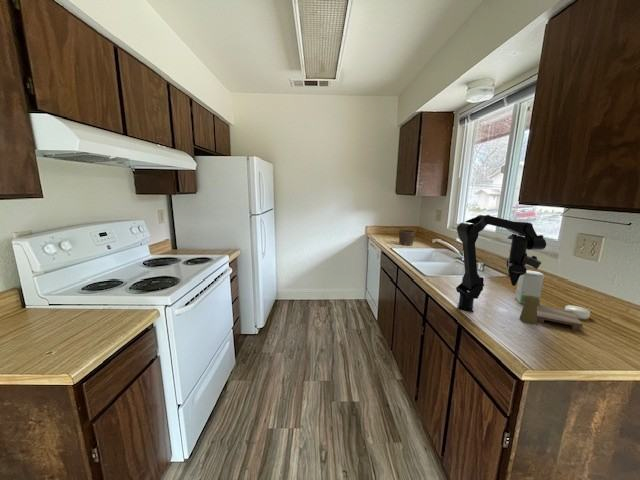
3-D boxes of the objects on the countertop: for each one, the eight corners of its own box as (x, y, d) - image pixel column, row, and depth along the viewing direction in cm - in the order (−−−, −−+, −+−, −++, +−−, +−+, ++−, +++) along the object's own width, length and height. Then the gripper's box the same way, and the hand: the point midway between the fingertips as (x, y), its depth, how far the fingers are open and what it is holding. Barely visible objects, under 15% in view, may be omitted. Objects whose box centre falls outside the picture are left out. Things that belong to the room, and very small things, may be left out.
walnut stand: (581, 331, 103) (582, 324, 102) (536, 322, 110) (537, 315, 109) (570, 317, 115) (572, 311, 114) (530, 310, 122) (531, 304, 121)
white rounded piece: (592, 321, 112) (593, 314, 112) (567, 316, 116) (568, 310, 116) (585, 314, 119) (586, 307, 119) (561, 310, 123) (563, 303, 123)
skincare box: (518, 303, 130) (523, 272, 127) (514, 298, 136) (518, 269, 133) (539, 305, 127) (545, 274, 124) (534, 300, 133) (539, 271, 130)
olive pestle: (531, 325, 107) (536, 300, 105) (515, 319, 113) (519, 294, 111) (540, 323, 110) (545, 298, 108) (524, 316, 115) (528, 293, 113)
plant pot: (412, 245, 269) (413, 230, 266) (416, 248, 254) (417, 232, 251) (396, 245, 271) (397, 229, 269) (398, 248, 256) (399, 231, 253)
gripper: (545, 256, 106) (538, 292, 109) (538, 248, 122) (532, 281, 124) (511, 252, 112) (505, 287, 115) (508, 245, 127) (503, 276, 130)
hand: (512, 282), depth 121 cm, fingers open, 9 cm apart
